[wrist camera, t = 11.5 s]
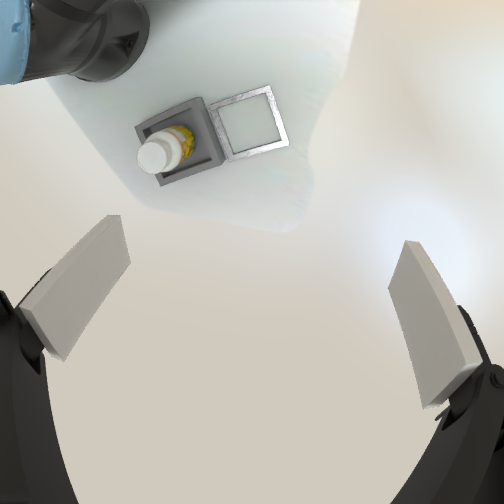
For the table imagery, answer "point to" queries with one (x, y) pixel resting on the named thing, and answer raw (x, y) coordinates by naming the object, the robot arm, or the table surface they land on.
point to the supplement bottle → (166, 149)
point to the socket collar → (255, 150)
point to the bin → (206, 139)
